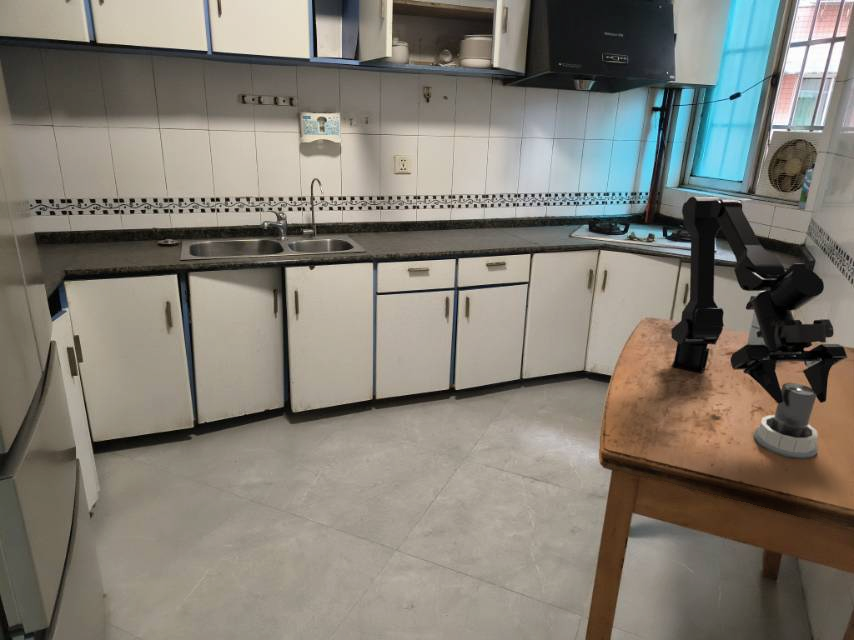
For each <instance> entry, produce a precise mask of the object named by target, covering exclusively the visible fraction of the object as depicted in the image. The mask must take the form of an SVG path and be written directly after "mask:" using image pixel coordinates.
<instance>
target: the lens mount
mask: <svg viewBox="0 0 854 640" xmlns="http://www.w3.org/2000/svg"><path fill="white" fill-rule="evenodd" d="M774 416H775V414H772V415H771V414H770V415H769V414H768V415H766V416H763V417H761V419H760V424H759V426H758V427H757V428H756V429H755V431H754V435H753V437H754V438H753V439H754V441H756V443H757V444H759V445H760V446H761V447H762V448H763V449H766V450H768V451H769V452H772V453H774V454H777V455H781V456H784V457H788V458H793V459H811V458H814V457H815V456H816V455H817V453H818V450H819V445H818V444H817V441H818V437H819V435H818V430H817V429H815V428H814V427H813V426H812V425H810V424H809V423H808V426H807V429H806V433H805V436H804V438H795V437H791V436H787V435H783V434H781V433H778V432H776V431H774V430H772V429H771V428H772V424H773V420H774Z"/></svg>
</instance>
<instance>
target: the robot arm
mask: <svg viewBox="0 0 854 640" xmlns="http://www.w3.org/2000/svg"><path fill="white" fill-rule="evenodd" d="M681 214H682V219H683V226H684V228H685V230H686V231H687V233H688V234H689V236H690V277H689V281H690V282H689V283H690V284H689V301H688V302H687V303H686V306H685V307H684V308H683V310H682V312H681V317H680V318H681V319H680V321H679V322H678V323H676V324H675V326H673V327H672V328H671V330H670V331H671V339H673V340H674V341H675V342H676V343H677V344H676V348H675V349H676V350H675V355H674V360H673V362H672V366H671V367H673V368H678V369H683V370H687V371H692V372H697V373H703V370H704V369H706V367H707V364H708V360H709V355H710V350H711V349H710V348H709V347H708V346H709V345H716V344H717V342H718V340H719V338H720V337H721V334H722V333H723V330H724V326H725V325H724V313H725V312H724V310H723V307H719V306H718V304H717V303H716V302H715V297H714V296H715V264H716V263H715V259H716V258H715V257H716V256H715V255H716V236H717V234H718V232H719V231H720V229H721V231H722V233H723V235H724V237H725V239H726V241H727V243H728V245H729V247H730V249H731V251H732V253H733V255H734V257H735V260H736V262H735V266H734V274H735V277H736V280H737V282H738V285H739V287H740V288H741V289H742V290H743V291H745V292H746V291H748V292H759V291H764V292H761V293H760V294H758V293H757V294H758V295H751V296H750V298H749V300H748V302H747V303H746V305H745V310H747V311H749V310H750V311H751V310H752V311H753V312H754V311H755V314H756V317H757V320H758V324H759V327H760V331H758V332H757V337H758V338H763V340H764V343H765V345H750V344H745V345H744V346H742V347H741V348H739V349H738V350H736V351H735V352H733V353H732V354H731V355H730V364H731V368H732V370H735V371H736V370H739V371H741V370H743V371H742V372H743V373H744V374H745V375H746V374H747V375H748V376H750V377H751V378H752V379H753V380H754V381H755V382H756V383H758V384H759V385H760V386H761V387H762V389H764V391H766V393H768V395H770V397H771V398H772V399H773V400H774V401H775V402H776V403H777V404H778V403H782V402H783V397H782V392H781V390H782V388H781V385H780V382H779V379H778V376H777V373H776V368H777V367H776V366H777V363H779V362H781V363H784V362H786V363H787V362H788V363H789V362H790V363H791V362H792V363H793V362H803V363H804V365H805V366H806V367H807V368H805V369H803V370H802V372H803V374H804V376H805V378H806V381H807V382H808V384H809V387H810V388H812V389H813V390H815V391H816V393H817V395H816V399H817V401H818V402H819V403H825V402H827V394H828V393H827V392H828V380H829V375H830V371H831V369H832V367H833V366H835V365H837V364H838V363H839V362H841V361H844V360H845V359H847V358H848V355H847V352H846V350H845V347H844V346H843V345H841V344H840V343H826V342H827V338H833V336H834V326H833V325H832V323H831V320H830V319H829V318H828V319H824V318H823V319H814V321H813V323H802V321H801V320H800V319H794V316H793V313H792V311H796V310H799V309H800V308H802V307H803V306H805V305H807V304H808V303H809V302H811V301H812V300H814V299H815V298H816V297H818V296H820V295H821V294H822V293H823V291H824V288H825V285H824V280H823V279H822V278H820V275H818V274H817V273H816V272H814V271H813V270H811V269H809V268H807V265H806V263H800V262H799V263H798V262H797V263H795V262H794V263H793V264H791V265H790V266H789V267H788V269H787V270H786V269H785V267H784V265H783V264H782V263H781V262H780V261H779V258H777V257H776V255H775V254H773V253H771V252H770V251H768V250H766V249H765V248H764V247H763V246H762V244H761V243H760V241H759V239H758V237H757V235H756V233H755V231H754V229H753V228H752V226H751V224H750V222H749V220H748V218H747V217H746V215H745V213H744V211H743V204H742V202H741V201H740V200H738V199H730V198H729V199H727V198H721V197H718V196H691V197H689V198H688V199H687V201H685V202H684V203H683V205H682V208H681ZM818 342H819V343H821V344H819V345H817V346H815V347H813V348H812V349H810V350H805V348H806V349H807V348H810V347H812V346H813V344H812V343H818Z"/></svg>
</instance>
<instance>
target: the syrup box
mask: <svg viewBox="0 0 854 640" xmlns="http://www.w3.org/2000/svg"><path fill="white" fill-rule="evenodd" d="M761 292H764V291H757V295H758V294H760V293H761ZM757 295H756V296H757ZM758 331H760V327H759V324H758V320H757V317H756V314H755V311H754V310H753V314H752V318H751V324H750V328H749V332H748V337H747V345H765V343H764V340H763V338H758V337H757V332H758Z"/></svg>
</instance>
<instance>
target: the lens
mask: <svg viewBox="0 0 854 640" xmlns="http://www.w3.org/2000/svg"><path fill="white" fill-rule="evenodd" d="M781 392H782V397H783V402H782V403H777V405H776V409H775V413H774V415H775V416H774V420H773V424H772V428H771V429H772V430H774V431H776V432H778V433H781V434H783V435H787V436H791V437H795V438H804V436H805V433H806V429H807V426H808V424H809V422H810V419H811V415H812V412H813V408H814V404H815V401H816V399H817V397H816V395H817V393H816V391H815V390H813V389H812V388H811V387H810V386H807V385H804V384H800V383H794V382H793V383H792V382H786V383H784V384H782V388H781Z"/></svg>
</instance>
